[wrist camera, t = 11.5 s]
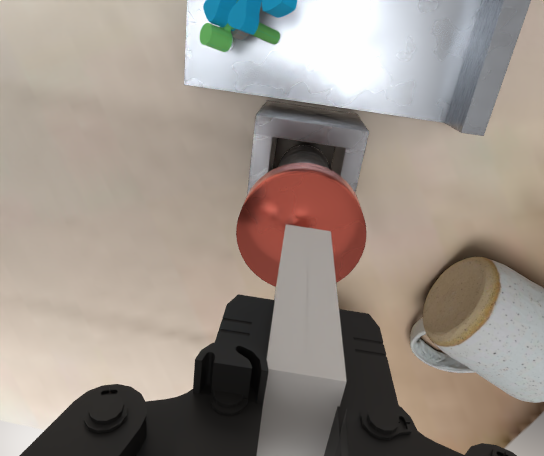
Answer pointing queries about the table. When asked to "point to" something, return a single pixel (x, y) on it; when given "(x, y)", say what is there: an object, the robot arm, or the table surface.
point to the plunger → (300, 213)
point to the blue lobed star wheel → (240, 21)
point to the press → (362, 69)
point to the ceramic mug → (486, 326)
